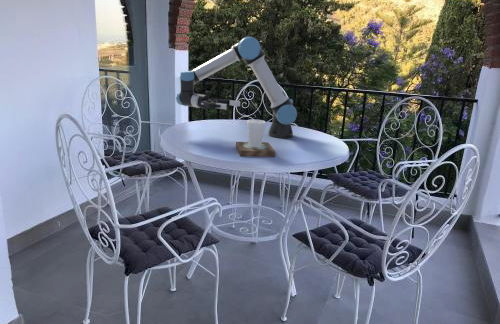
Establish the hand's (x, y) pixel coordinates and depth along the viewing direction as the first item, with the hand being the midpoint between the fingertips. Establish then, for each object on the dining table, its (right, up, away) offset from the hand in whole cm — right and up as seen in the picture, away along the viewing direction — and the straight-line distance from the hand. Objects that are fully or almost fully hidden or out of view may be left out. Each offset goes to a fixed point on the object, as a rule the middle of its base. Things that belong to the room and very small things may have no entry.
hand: (233, 105), depth 219 cm
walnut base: (+11, -25, -3) cm, 27 cm away
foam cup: (+11, -22, -4) cm, 25 cm away
